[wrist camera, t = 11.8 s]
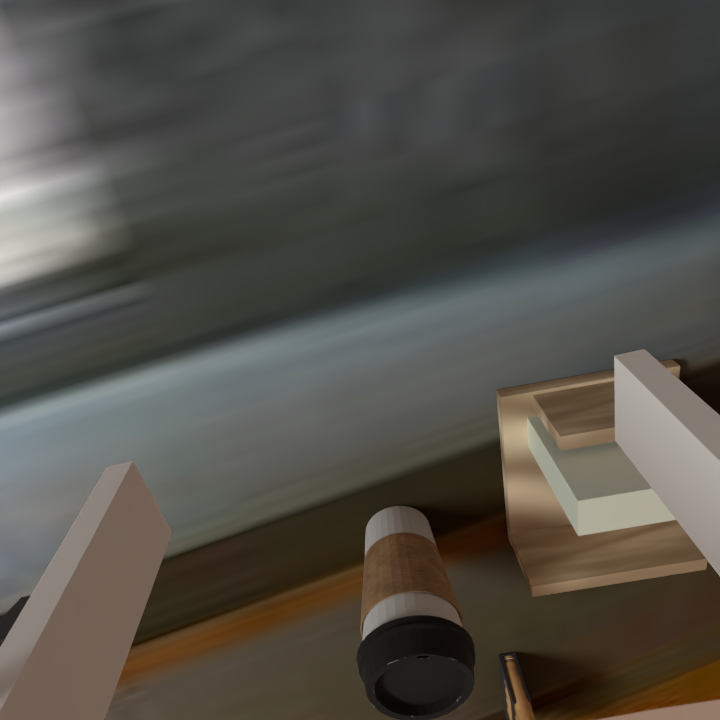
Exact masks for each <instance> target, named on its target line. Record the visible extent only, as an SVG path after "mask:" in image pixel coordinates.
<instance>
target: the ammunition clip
mask: <svg viewBox="0 0 720 720" xmlns="http://www.w3.org/2000/svg"><path fill="white" fill-rule="evenodd" d="M499 662H500V671H501V681H502V690H503V700H504V709H505V715H506V718H507V720H536V719H535V716H534V713H533V710H532V703H531V698H530V695H529V692H528V688H527V685H526V682H525V679H524V676H523V673H522V670H521V667H520V664H519V660H518V657H517V654H516V653H509V654H503V655H499Z"/></svg>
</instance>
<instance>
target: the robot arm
mask: <svg viewBox="0 0 720 720" xmlns="http://www.w3.org/2000/svg"><path fill="white" fill-rule="evenodd" d="M614 389H615V441H616V442H617V444H618V445H619V446H620V447H621V449H622V450H623V451H624V453H625V454H626V455H627V457H628V458H629V459H630V460H631V462H632V463H633V464H634V466H635V467H636V468H637V469H638V471H639V472H640V473H641V475H642V476H643V477H644V479H645V480H646V481H647V482H648V484H649V485H650V486H651V488H652V489H653V490H654V492H655V493H656V494H657V495H658V497H659V498H660V499H661V501H662V502H663V503H664V505H665V506H666V507H667V508H668V510H669V511H670V512H671V514H672V515H673V516H674V517H675V519H676V520H677V521H678V523H679V524H680V525H681V527H682V528H683V529H684V530H685V532H686V533H687V534H688V536H689V537H690V538H691V540H692V541H693V542H694V543H695V545H696V546H697V547H698V549H699V550H700V551H701V553H702V554H703V555H704V556H705V558H706V559H707V560H708V562H709V563H710V564H711V566H712V567H713V568H714V569H715V571H716V572H717V573H718V575H719V576H720V415H719V414H718V413H717V412H715V411H714V410H713V409H712V408H711V407H710V406H709V405H707V404H706V403H705V402H704V401H703V400H702V399H701V398H699V397H698V396H697V395H696V394H695V393H694V392H693V391H692V390H690V389H689V388H688V387H687V386H686V385H685V384H684V383H682V382H681V381H680V380H679V379H678V378H677V377H676V376H674V375H673V374H672V373H671V372H670V371H669V370H668V369H666V368H665V367H664V366H663V365H662V364H661V363H660V362H659V361H657V360H656V359H655V358H654V357H653V356H652V355H651V354H649V353H648V352H647V351H646V350H645V349H643V350H638V351H633V352H629V353H624V354H620V355H615V356H614ZM171 534H172V531H171V529H170V528H169V526H168V524H167V522H166V520H165V519H164V517H163V515H162V513H161V511H160V509H159V508H158V506H157V504H156V502H155V500H154V499H153V497H152V495H151V493H150V491H149V490H148V488H147V486H146V484H145V482H144V481H143V479H142V477H141V475H140V473H139V472H138V470H137V468H136V466H135V464H134V463H133V461H132V462H127V463H122V464H118V465H113V466H109V467H106V469H105V470H104V472H103V474H102V476H101V477H100V479H99V481H98V482H97V484H96V486H95V487H94V489H93V491H92V492H91V494H90V496H89V498H88V499H87V501H86V503H85V504H84V506H83V508H82V509H81V511H80V513H79V515H78V516H77V518H76V520H75V521H74V523H73V525H72V526H71V528H70V530H69V531H68V533H67V535H66V537H65V538H64V540H63V542H62V543H61V545H60V547H59V548H58V550H57V552H56V553H55V555H54V557H53V559H52V560H51V562H50V564H49V565H48V567H47V569H46V570H45V572H44V574H43V575H42V577H41V579H40V581H39V582H38V584H37V586H36V587H35V589H34V591H33V592H32V594H31V596H26V597H21V598H20V599H19V601H18V602H17V603H16V604H15V605H14V606H13V607H12V608H11V609H10V610H9V611H8V612H7V613H6V614H5V615H4V616H3V617H2V618H1V619H0V720H104V719H105V716H106V714H107V711H108V708H109V705H110V703H111V700H112V697H113V694H114V692H115V689H116V686H117V683H118V680H119V678H120V675H121V672H122V669H123V667H124V664H125V661H126V658H127V656H128V653H129V650H130V647H131V644H132V642H133V639H134V636H135V633H136V631H137V628H138V625H139V622H140V620H141V617H142V614H143V611H144V608H145V606H146V603H147V600H148V597H149V595H150V592H151V589H152V586H153V584H154V581H155V578H156V575H157V573H158V570H159V567H160V564H161V561H162V559H163V556H164V553H165V550H166V548H167V545H168V542H169V539H170V537H171Z"/></svg>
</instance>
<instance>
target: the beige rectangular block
mask: <svg viewBox="0 0 720 720" xmlns="http://www.w3.org/2000/svg"><path fill="white" fill-rule="evenodd" d="M527 426H528V444H529V449H530V451H531V453H532V454H533V456H534V458H535V460H536V462H537V463H538V465H539V467H540V469H541V471H542V472H543V474H544V476H545V478H546V479H547V481H548V483H549V485H550V487H551V488H552V490H553V492H554V494H555V496H556V497H557V499H558V501H559V503H560V505H561V506H562V508H563V510H564V512H565V513H566V515H567V517H568V519H569V521H570V522H571V524H572V526H573V528H574V530H575V531H576V533H577V535H578V536H581V535H587V534H593V533H600V532H606V531H612V530H618V529H624V528H630V527H636V526H642V525H648V524H654V523H660V522H666V521H672V520H676V519H675V517H674V516H673V515H672V514H671V512H670V511H669V510H668V508H667V507H666V506H665V505H664V503H663V502H662V501H661V499H660V498H659V497H658V495H657V494H656V493H655V492H654V490H653V489H652V488H651V486H650V485H649V484H648V482H647V481H646V480H645V479H644V477H643V476H642V475H641V473H640V472H639V471H638V469H637V468H636V467H635V466H634V464H633V463H632V462H631V460H630V459H629V458H628V457H627V455H626V454H625V453H624V451H623V450H622V449H621V447H620V446H619V445H618V444H617V442H616V441H615V442H609V443H603V444H598V445H592V446H586V447H580V448H574V449H568V450H562V451H560V449H559V448H558V446H557V445H556V443H555V441H554V440H553V438H552V437H551V435H550V434H549V432H548V431H547V429H546V428H545V426H544V424H543V423H542V421H541V420H540V418H539V417H538V415H537V416H531V417H527Z"/></svg>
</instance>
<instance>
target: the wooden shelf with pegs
mask: <svg viewBox="0 0 720 720" xmlns="http://www.w3.org/2000/svg"><path fill="white" fill-rule="evenodd" d="M659 362H660V363H661V364H662V365H663V366H664V367H665V368H666V369H668V370H669V371H670V372H671V373H672V374H673V375H674V376H676V377H677V378H678V379H679V374H680V365H679V364H677V363H676V362H675V361H673V360H672V359H669V360H663V361H659ZM496 392H497V405H498V418H499V430H500V443H501V456H502V469H503V481H504V494H505V507H506V520H507V533H508V538H509V541H510V544H511V546H512V547H513V549H514V552H515V554H516V557H517V559H518V562H519V564H520V567H521V569H522V572H523V574H524V577H525V579H526V582H527V584H528V587H529V589H530V592H531V594H532V597H536V596H542V595H548V594H554V593H561V592H567V591H573V590H579V589H586V588H592V587H598V586H604V585H611V584H617V583H623V582H630V581H636V580H642V579H648V578H655V577H661V576H667V575H673V574H680V573H686V572H692V571H698V570H705V569H706V566H707V559H706V558H705V556H704V555H703V554H702V553H701V551H700V550H699V549H698V547H697V546H696V545H695V543H694V542H693V541H692V540H691V538H690V537H689V536H688V534H687V533H686V532H685V530H684V529H683V528H682V527H681V525H680V524H679V523H678V522H677V520H672V521H666V522H660V523H654V524H648V525H642V526H636V527H630V528H624V529H618V530H612V531H606V532H600V533H593V534H587V535H581V536H578V535H577V533H576V531H575V530H574V528H573V526H572V524H571V522H570V521H569V519H568V517H567V515H566V513H565V512H564V510H563V508H562V506H561V505H560V503H559V501H558V499H557V497H556V496H555V494H554V492H553V490H552V488H551V487H550V485H549V483H548V481H547V479H546V478H545V476H544V474H543V472H542V471H541V469H540V467H539V465H538V463H537V462H536V460H535V458H534V456H533V454H532V453H531V451H530V449H529V444H528V426H527V417H531V416H537V415H538V417H539V418H540V420H541V421H542V423H543V424H544V426H545V428H546V429H547V431H548V432H549V434H550V435H551V437H552V438H553V440H554V441H555V443H556V445H557V446H558V448H559V449H560V451H562V450H568V449H574V448H580V447H586V446H592V445H598V444H603V443H609V442H615V389H614V369H612V370H607V371H601V372H595V373H590V374H584V375H578V376H573V377H567V378H561V379H556V380H550V381H544V382H539V383H533V384H528V385H522V386H516V387H511V388H505V389H499V390H496Z"/></svg>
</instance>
